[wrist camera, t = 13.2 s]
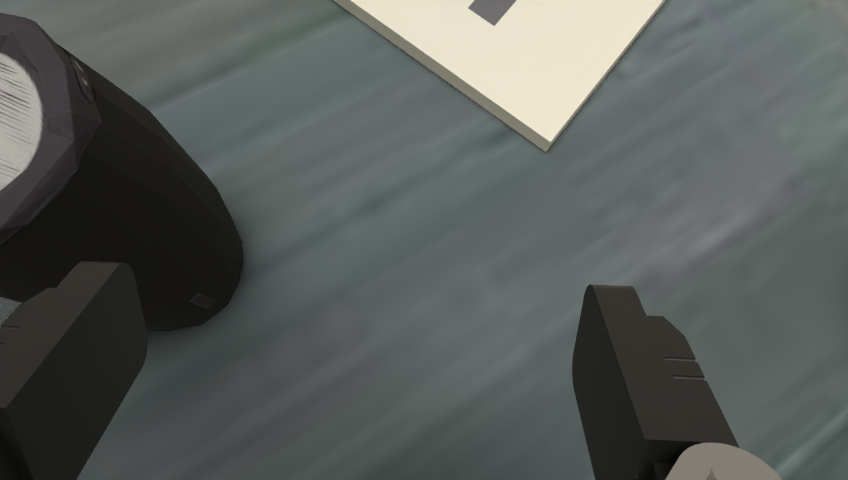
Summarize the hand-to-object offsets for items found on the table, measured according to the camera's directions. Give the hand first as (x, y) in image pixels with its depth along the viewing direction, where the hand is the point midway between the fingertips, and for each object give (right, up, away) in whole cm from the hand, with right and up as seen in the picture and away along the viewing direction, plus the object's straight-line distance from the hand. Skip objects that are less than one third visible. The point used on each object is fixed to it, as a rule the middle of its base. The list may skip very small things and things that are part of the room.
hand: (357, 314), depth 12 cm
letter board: (+5, +19, +31) cm, 36 cm away
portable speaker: (-13, 0, +26) cm, 29 cm away
